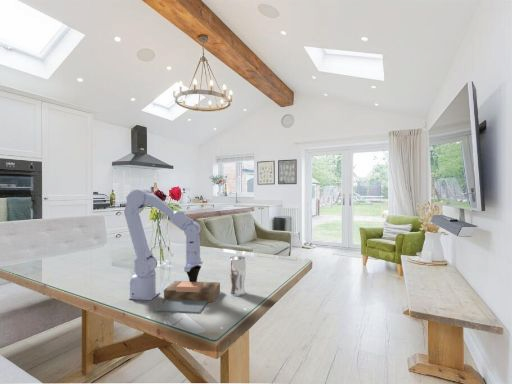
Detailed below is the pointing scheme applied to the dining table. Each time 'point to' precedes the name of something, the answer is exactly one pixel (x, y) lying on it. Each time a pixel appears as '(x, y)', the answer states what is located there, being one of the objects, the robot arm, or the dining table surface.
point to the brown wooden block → (206, 293)
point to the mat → (183, 306)
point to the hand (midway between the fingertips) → (193, 284)
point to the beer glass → (237, 275)
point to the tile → (189, 287)
